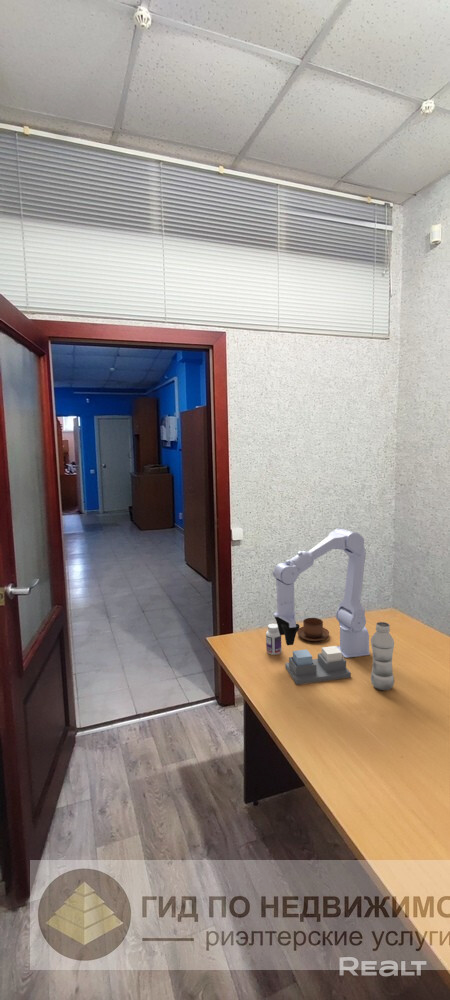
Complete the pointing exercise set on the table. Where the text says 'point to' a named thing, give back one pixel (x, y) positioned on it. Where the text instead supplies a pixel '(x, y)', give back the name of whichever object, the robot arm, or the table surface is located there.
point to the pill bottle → (273, 640)
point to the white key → (331, 654)
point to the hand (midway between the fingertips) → (286, 639)
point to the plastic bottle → (382, 657)
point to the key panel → (317, 670)
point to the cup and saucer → (313, 630)
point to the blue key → (302, 657)
